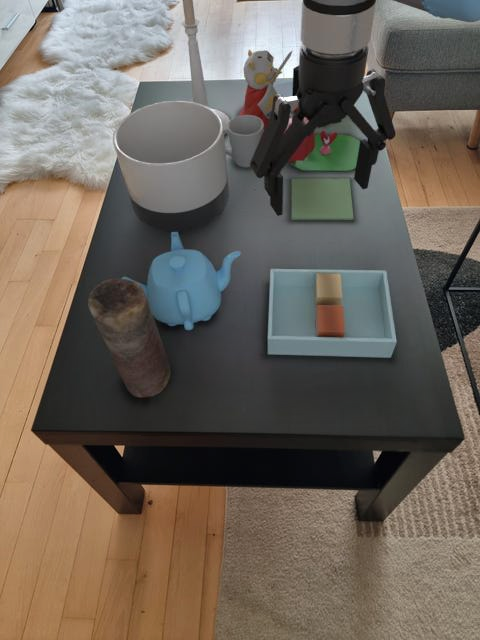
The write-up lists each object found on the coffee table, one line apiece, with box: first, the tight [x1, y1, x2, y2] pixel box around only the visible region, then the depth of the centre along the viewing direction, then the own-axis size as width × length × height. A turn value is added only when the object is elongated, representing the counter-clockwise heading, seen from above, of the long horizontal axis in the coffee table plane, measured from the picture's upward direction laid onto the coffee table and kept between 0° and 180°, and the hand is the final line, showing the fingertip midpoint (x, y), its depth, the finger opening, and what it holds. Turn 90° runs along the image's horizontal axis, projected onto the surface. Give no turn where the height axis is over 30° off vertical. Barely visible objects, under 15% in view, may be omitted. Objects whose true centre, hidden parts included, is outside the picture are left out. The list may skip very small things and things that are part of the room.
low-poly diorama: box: [284, 117, 360, 172], centre depth 102 cm, size 15×20×9 cm
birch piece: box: [314, 274, 342, 313], centre depth 79 cm, size 4×5×4 cm
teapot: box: [121, 231, 242, 331], centre depth 79 cm, size 15×14×11 cm
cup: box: [223, 115, 264, 168], centre depth 103 cm, size 8×10×8 cm
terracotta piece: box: [315, 305, 345, 338], centre depth 76 cm, size 4×5×4 cm
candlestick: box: [181, 0, 231, 136], centre depth 102 cm, size 13×13×30 cm
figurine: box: [238, 49, 293, 131], centre depth 109 cm, size 13×12×15 cm
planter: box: [112, 100, 230, 232], centre depth 91 cm, size 19×19×18 cm
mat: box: [290, 178, 355, 221], centre depth 97 cm, size 12×12×1 cm
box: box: [267, 268, 397, 359], centre depth 78 cm, size 19×14×4 cm
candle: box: [87, 278, 172, 398], centre depth 67 cm, size 8×7×20 cm
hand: (319, 196), depth 70 cm, fingers open, 13 cm apart
